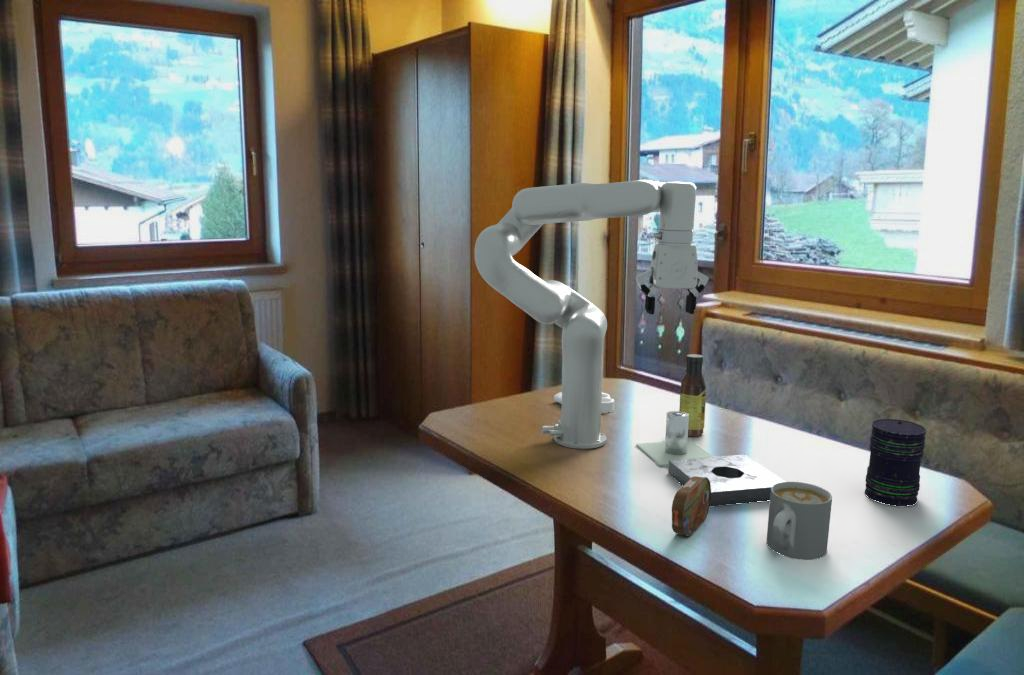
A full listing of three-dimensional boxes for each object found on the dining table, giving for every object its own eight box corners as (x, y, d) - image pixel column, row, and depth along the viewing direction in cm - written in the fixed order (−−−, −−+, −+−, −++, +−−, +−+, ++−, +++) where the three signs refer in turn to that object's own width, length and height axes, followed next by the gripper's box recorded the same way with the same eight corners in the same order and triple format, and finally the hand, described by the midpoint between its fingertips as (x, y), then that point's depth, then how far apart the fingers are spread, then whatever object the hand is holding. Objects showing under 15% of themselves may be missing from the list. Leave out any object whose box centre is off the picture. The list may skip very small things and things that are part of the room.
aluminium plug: (670, 456, 180) (672, 417, 178) (661, 448, 185) (663, 410, 183) (690, 454, 181) (692, 415, 180) (680, 447, 186) (682, 409, 184)
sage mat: (660, 466, 175) (660, 464, 175) (636, 445, 188) (636, 443, 188) (718, 462, 178) (718, 460, 178) (690, 441, 192) (690, 439, 191)
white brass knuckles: (547, 400, 226) (591, 395, 232) (580, 418, 210) (626, 411, 217) (548, 389, 225) (592, 384, 232) (580, 406, 210) (626, 400, 216)
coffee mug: (789, 528, 145) (794, 477, 143) (838, 550, 137) (844, 495, 135) (741, 547, 138) (745, 493, 136) (790, 570, 130) (795, 513, 128)
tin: (684, 544, 139) (686, 498, 137) (666, 539, 140) (669, 494, 139) (711, 513, 151) (714, 472, 150) (695, 510, 153) (698, 468, 151)
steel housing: (707, 507, 154) (708, 492, 153) (668, 473, 171) (668, 460, 171) (789, 499, 158) (790, 485, 158) (743, 467, 175) (744, 454, 175)
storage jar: (916, 511, 154) (925, 437, 151) (861, 500, 158) (869, 429, 155) (918, 493, 162) (927, 423, 159) (866, 484, 167) (874, 416, 164)
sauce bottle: (706, 437, 195) (711, 359, 191) (680, 437, 195) (685, 358, 191) (700, 429, 201) (705, 353, 197) (675, 428, 201) (680, 352, 197)
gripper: (645, 239, 172) (640, 316, 175) (718, 240, 176) (712, 315, 179) (632, 236, 179) (628, 310, 183) (703, 237, 183) (697, 310, 186)
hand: (669, 313), depth 181 cm, fingers open, 9 cm apart
